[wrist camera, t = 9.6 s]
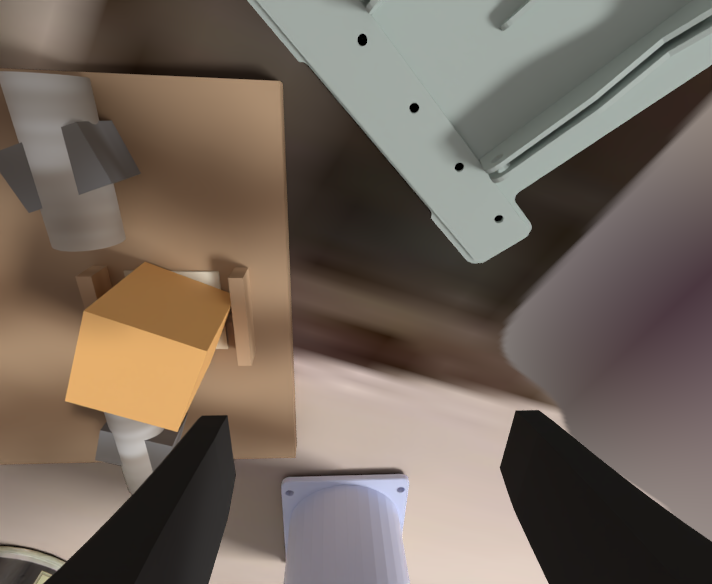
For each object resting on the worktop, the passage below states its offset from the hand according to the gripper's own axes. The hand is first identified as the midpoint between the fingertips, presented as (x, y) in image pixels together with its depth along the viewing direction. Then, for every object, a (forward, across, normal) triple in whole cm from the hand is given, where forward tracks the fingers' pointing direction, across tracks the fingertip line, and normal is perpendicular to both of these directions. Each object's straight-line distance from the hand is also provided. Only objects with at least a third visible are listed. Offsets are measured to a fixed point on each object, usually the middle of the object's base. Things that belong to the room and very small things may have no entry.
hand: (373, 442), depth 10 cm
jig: (+10, +12, +1) cm, 16 cm away
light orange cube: (+9, +8, +1) cm, 12 cm away
